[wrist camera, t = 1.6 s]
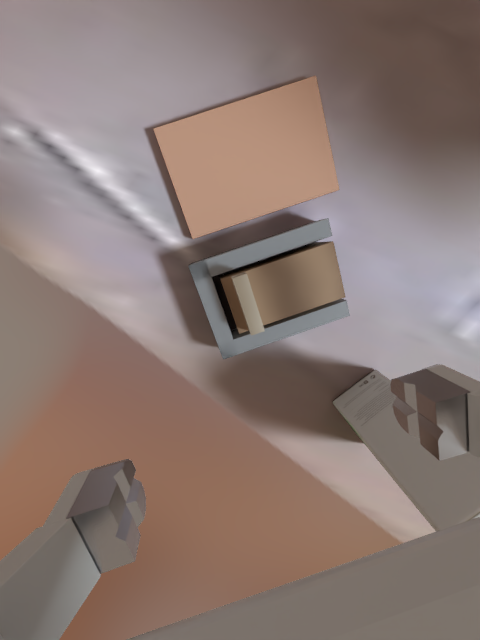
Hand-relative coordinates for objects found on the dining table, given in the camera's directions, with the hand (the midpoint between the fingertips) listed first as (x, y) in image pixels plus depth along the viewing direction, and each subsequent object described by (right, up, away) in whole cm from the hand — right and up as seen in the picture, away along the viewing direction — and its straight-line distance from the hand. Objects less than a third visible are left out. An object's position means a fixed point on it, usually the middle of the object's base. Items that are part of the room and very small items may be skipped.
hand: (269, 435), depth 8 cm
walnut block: (+3, +7, +20) cm, 21 cm away
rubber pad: (0, +17, +16) cm, 24 cm away
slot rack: (+3, +7, +19) cm, 21 cm away
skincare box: (+14, -7, +24) cm, 29 cm away
